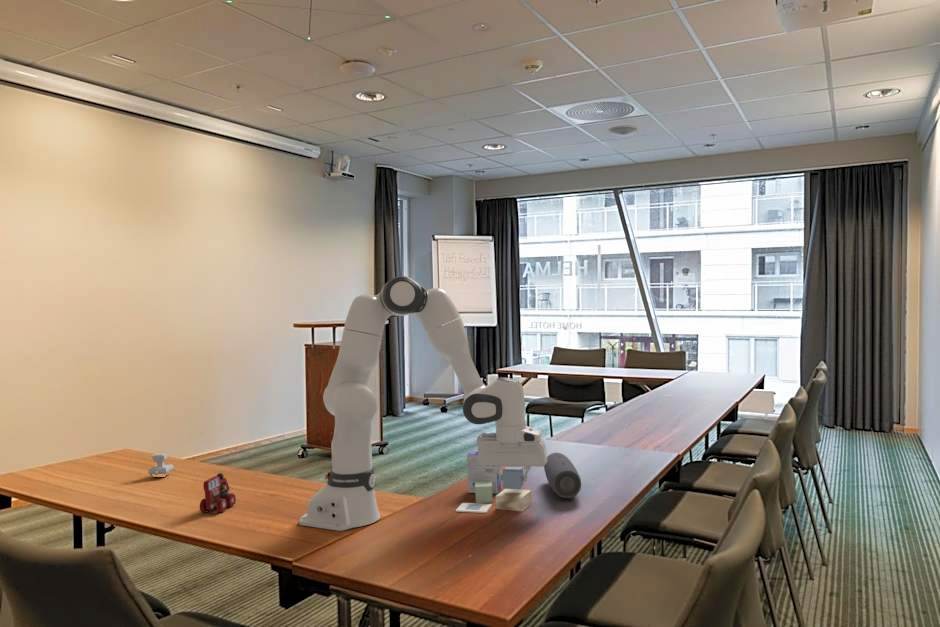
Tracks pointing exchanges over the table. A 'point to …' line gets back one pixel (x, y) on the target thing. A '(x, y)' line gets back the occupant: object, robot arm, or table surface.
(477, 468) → the ink cartridge box
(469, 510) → the swatch card
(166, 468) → the stamp
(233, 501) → the toy fire truck
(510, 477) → the blue cube
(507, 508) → the birch base
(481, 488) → the green cube
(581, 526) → the table surface
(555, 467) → the bluetooth speaker
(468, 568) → the table surface
